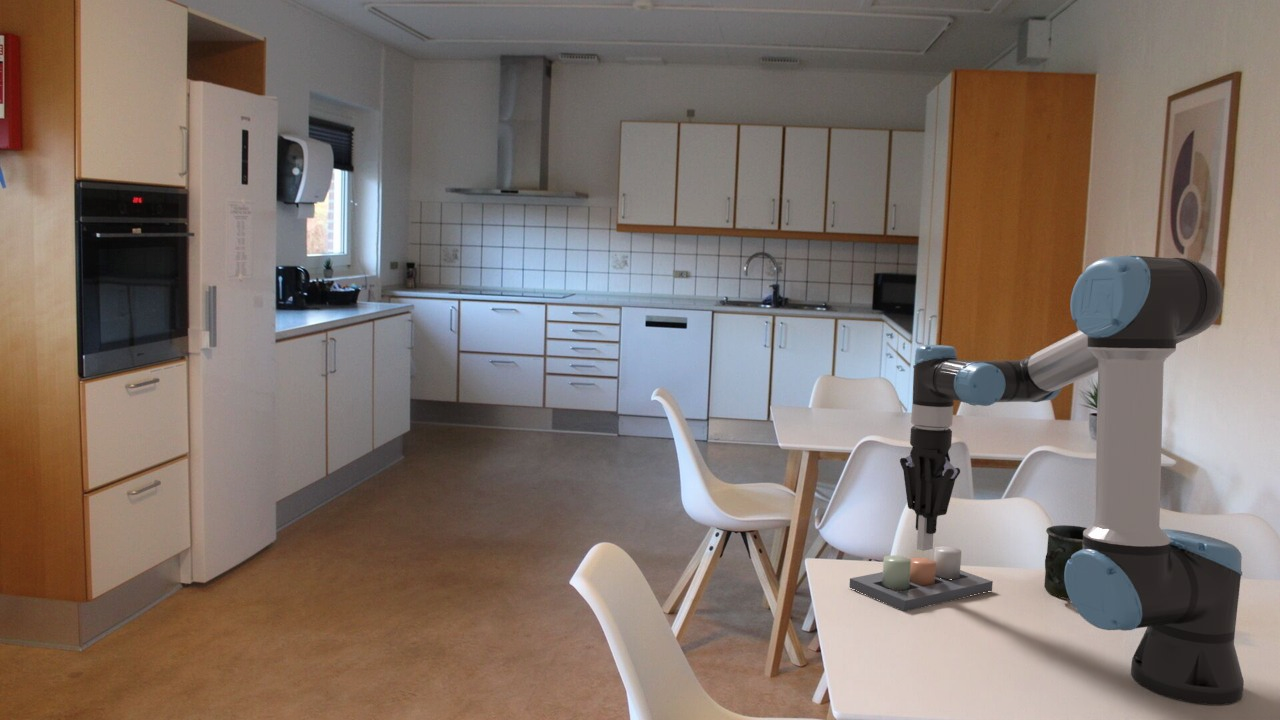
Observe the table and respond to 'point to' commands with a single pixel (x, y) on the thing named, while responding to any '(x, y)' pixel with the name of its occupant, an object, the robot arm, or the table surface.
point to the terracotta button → (922, 571)
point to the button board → (921, 590)
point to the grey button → (947, 562)
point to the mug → (1060, 556)
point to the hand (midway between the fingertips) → (924, 548)
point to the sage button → (896, 572)
